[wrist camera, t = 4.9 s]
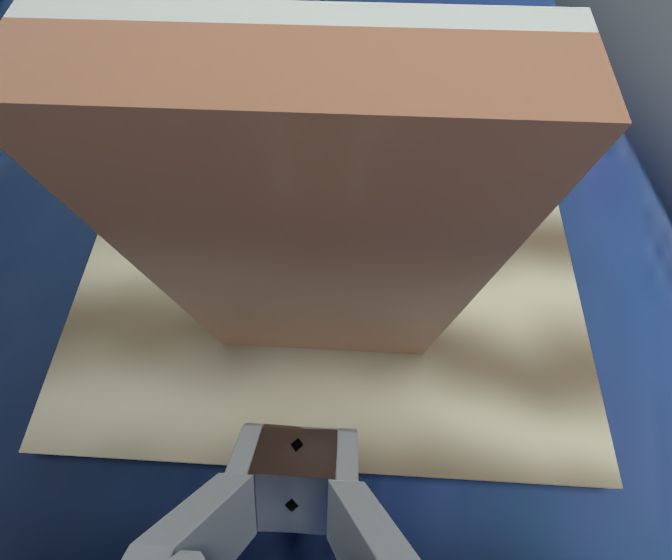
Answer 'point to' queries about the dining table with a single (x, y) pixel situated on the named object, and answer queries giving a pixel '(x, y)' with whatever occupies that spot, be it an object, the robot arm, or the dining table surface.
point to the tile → (309, 150)
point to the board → (339, 382)
